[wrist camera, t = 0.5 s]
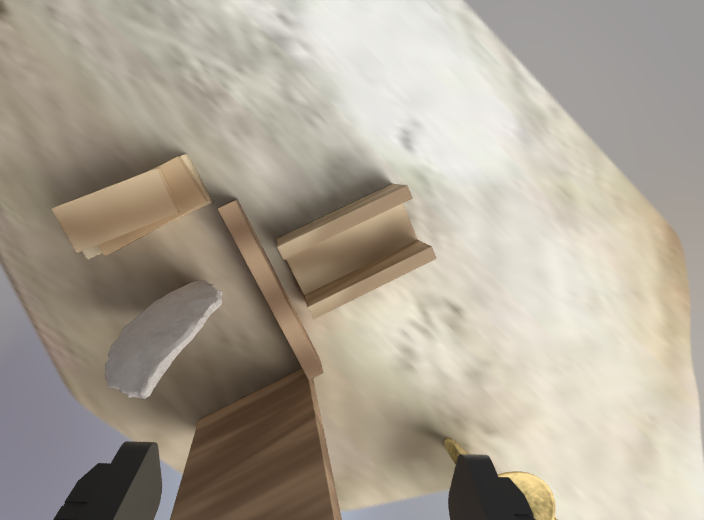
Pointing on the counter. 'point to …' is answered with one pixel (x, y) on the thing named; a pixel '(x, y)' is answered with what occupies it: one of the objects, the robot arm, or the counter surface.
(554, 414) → the counter surface
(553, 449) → the counter surface
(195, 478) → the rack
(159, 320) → the stone tool
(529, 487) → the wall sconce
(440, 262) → the counter surface
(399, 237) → the holder
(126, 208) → the offcut stack
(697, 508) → the counter surface
